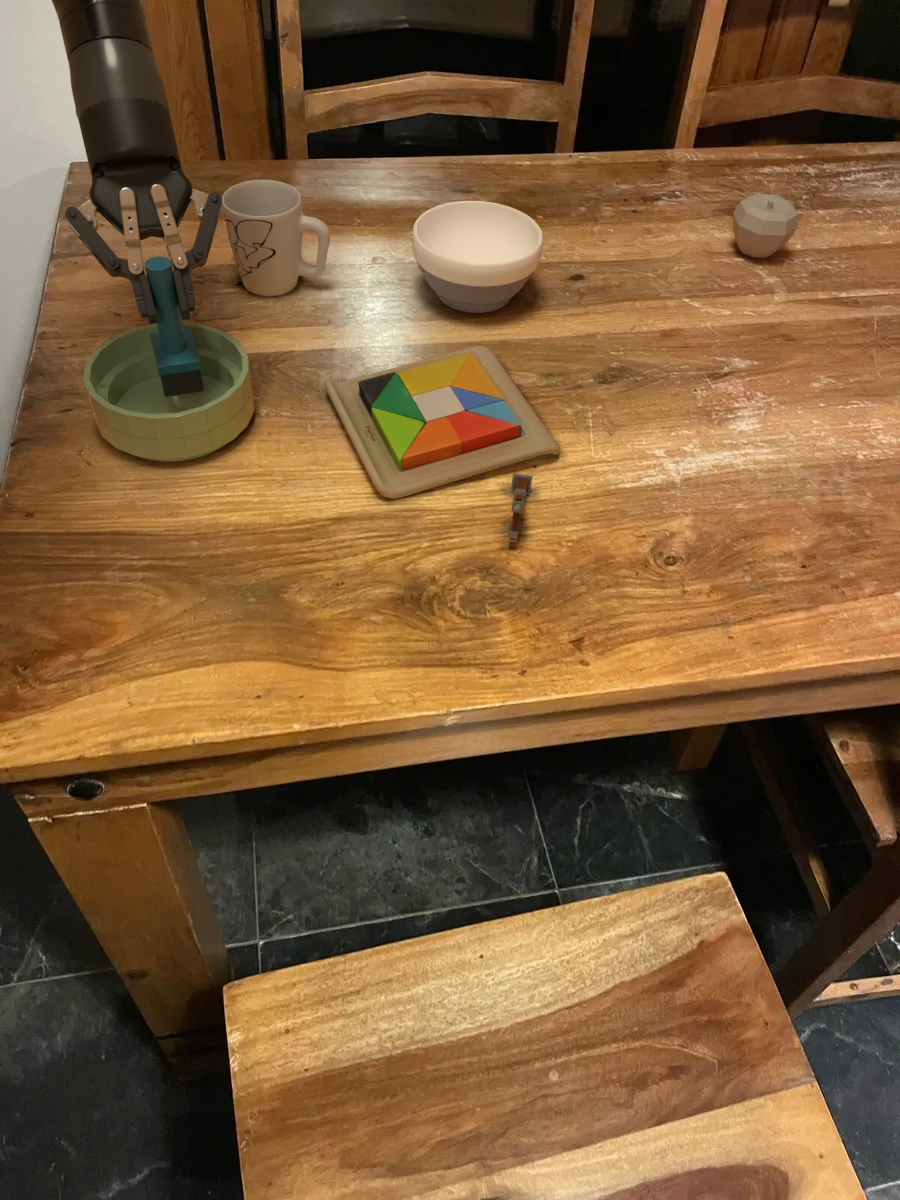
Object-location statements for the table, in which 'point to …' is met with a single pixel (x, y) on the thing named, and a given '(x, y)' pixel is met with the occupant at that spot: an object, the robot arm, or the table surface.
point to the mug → (271, 235)
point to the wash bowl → (175, 423)
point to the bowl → (476, 253)
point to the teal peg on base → (172, 334)
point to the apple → (763, 224)
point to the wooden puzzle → (438, 421)
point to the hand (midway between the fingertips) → (170, 318)
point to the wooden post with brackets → (518, 504)
